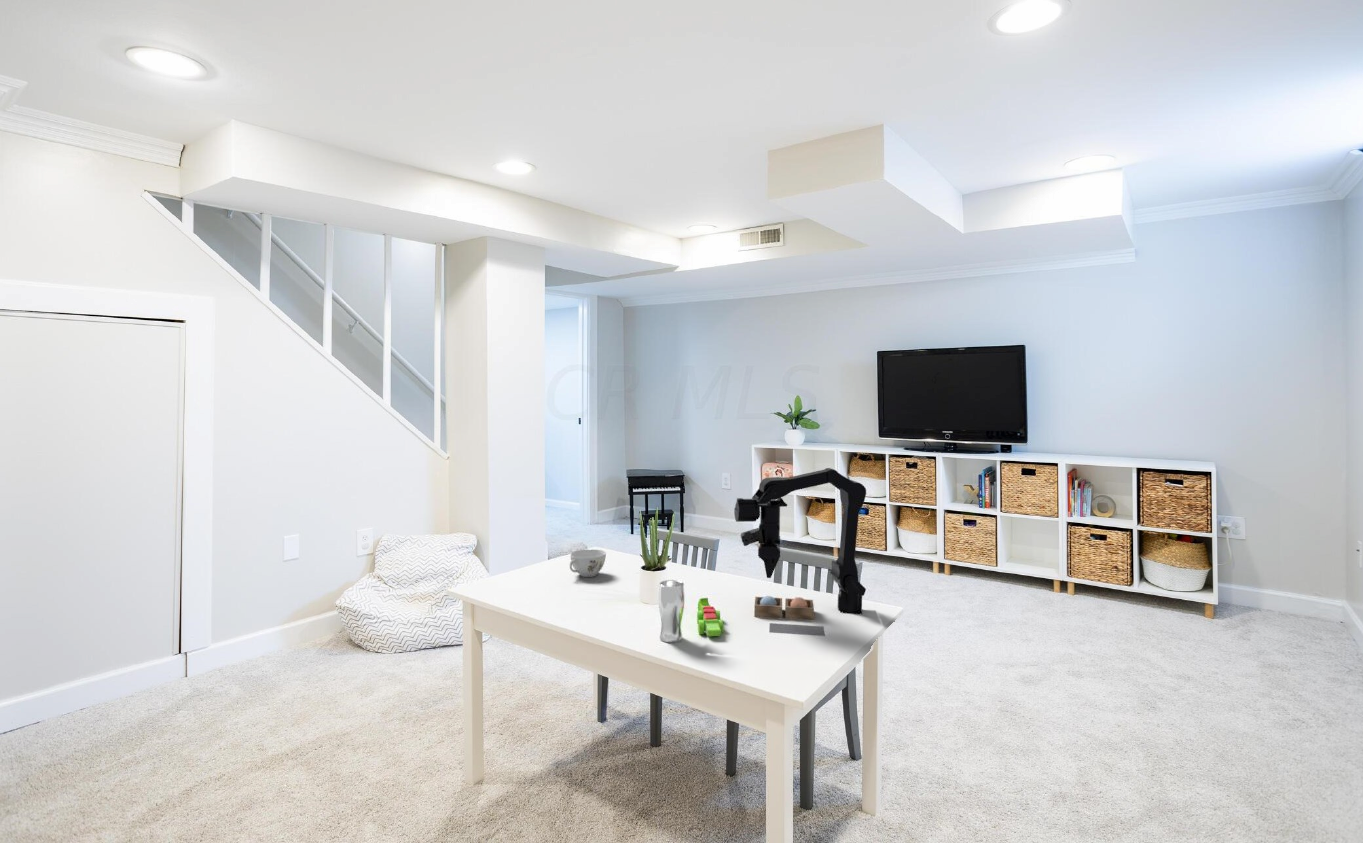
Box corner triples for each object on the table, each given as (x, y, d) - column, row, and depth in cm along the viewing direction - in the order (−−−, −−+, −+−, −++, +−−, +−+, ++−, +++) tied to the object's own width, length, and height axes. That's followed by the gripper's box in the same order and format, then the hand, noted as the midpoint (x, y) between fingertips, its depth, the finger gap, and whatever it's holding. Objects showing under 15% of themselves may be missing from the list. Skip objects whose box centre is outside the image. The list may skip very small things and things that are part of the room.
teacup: (589, 568, 246) (589, 546, 246) (613, 574, 238) (613, 552, 238) (557, 577, 235) (557, 554, 234) (582, 584, 227) (582, 560, 226)
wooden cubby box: (812, 612, 201) (812, 599, 200) (813, 622, 193) (813, 608, 192) (785, 611, 202) (785, 598, 202) (785, 620, 194) (785, 607, 194)
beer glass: (657, 633, 183) (658, 579, 182) (682, 633, 183) (683, 579, 182) (658, 643, 176) (659, 587, 175) (685, 643, 176) (685, 587, 175)
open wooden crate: (781, 611, 202) (782, 598, 202) (782, 620, 194) (782, 606, 194) (755, 609, 203) (755, 596, 203) (754, 618, 195) (754, 605, 195)
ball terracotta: (807, 612, 199) (807, 596, 200) (807, 617, 194) (808, 599, 195) (790, 612, 200) (790, 595, 200) (790, 616, 195) (790, 598, 195)
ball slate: (776, 610, 201) (777, 594, 200) (776, 615, 196) (776, 598, 196) (759, 609, 201) (760, 593, 201) (759, 614, 196) (759, 598, 196)
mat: (823, 628, 188) (823, 626, 188) (825, 637, 181) (825, 635, 181) (769, 625, 190) (769, 623, 190) (769, 634, 183) (769, 632, 183)
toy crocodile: (725, 642, 178) (725, 620, 177) (700, 642, 177) (700, 620, 177) (717, 616, 197) (717, 596, 197) (695, 616, 197) (695, 596, 197)
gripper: (744, 513, 207) (743, 563, 208) (740, 526, 189) (739, 581, 190) (780, 515, 206) (779, 565, 207) (780, 528, 187) (779, 583, 188)
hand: (769, 573), depth 198 cm, fingers open, 9 cm apart
